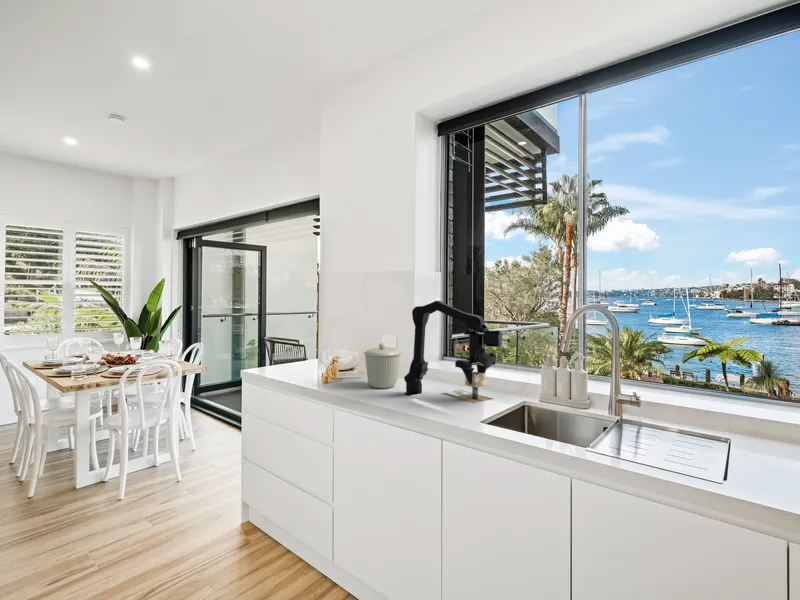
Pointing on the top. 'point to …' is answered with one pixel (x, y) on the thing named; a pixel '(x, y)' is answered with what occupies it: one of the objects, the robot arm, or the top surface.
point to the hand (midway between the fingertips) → (475, 382)
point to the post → (474, 393)
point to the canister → (382, 366)
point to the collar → (477, 380)
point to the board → (466, 396)
